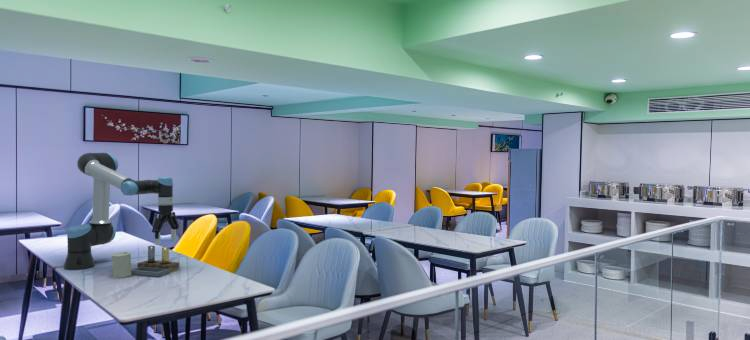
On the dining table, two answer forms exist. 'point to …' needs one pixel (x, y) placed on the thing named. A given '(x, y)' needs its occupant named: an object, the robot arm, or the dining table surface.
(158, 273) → the tray
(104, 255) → the dining table surface
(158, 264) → the block
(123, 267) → the can
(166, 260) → the brass pin
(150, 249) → the steel pin
